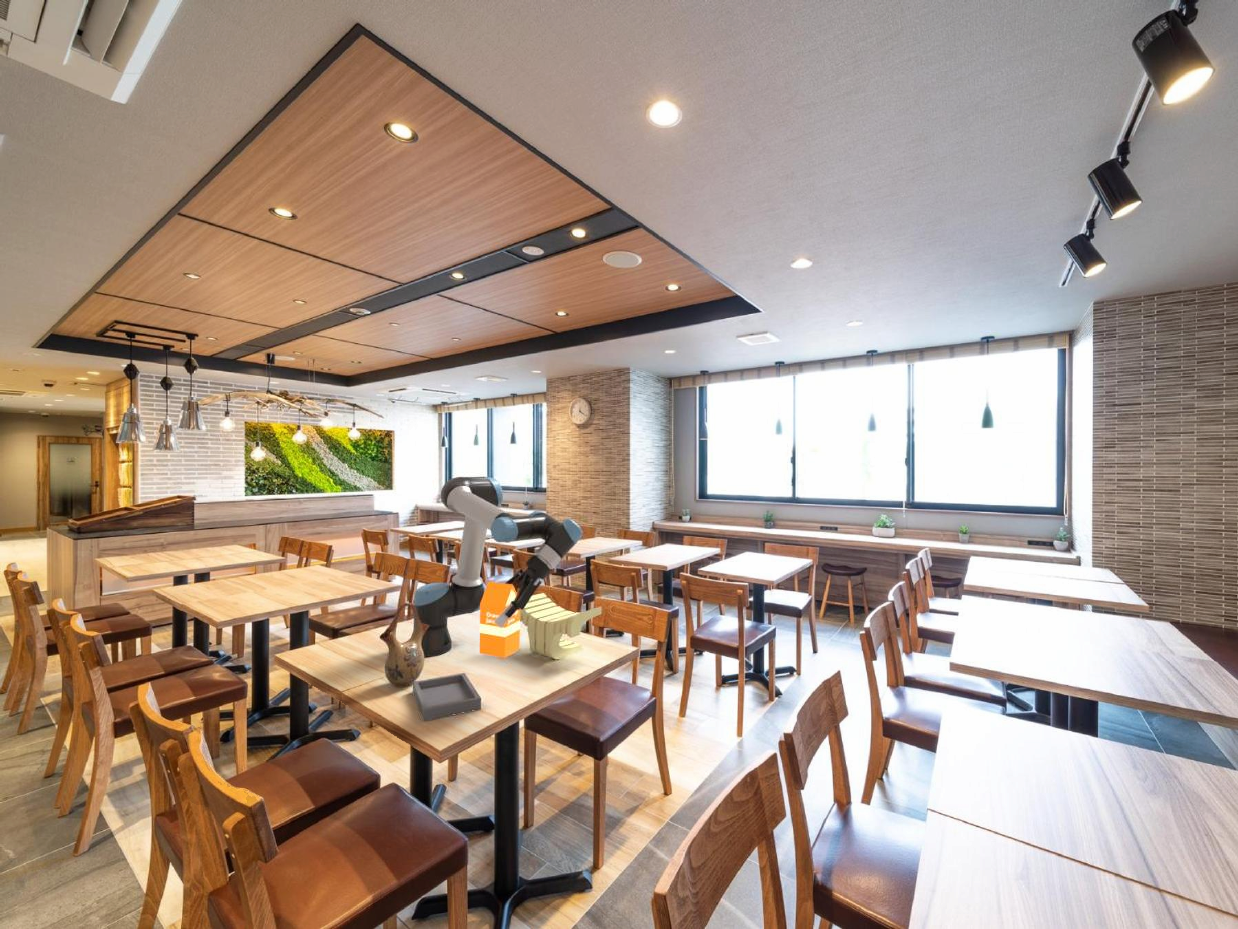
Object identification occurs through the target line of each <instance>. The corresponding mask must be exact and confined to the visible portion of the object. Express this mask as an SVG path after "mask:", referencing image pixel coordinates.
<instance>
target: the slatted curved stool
mask: <svg viewBox="0 0 1238 929" xmlns="http://www.w3.org/2000/svg"><path fill="white" fill-rule="evenodd" d="M602 609H603V608H602V605H601V606H598V607H594V608H591V609H588V610H584V611H583V612H575V611H570V610H566V609H565V608H563V607H561V606H560V605H557V604H556V603H555V602H553V601H552V600H551V599H550V598H549V597H547V595H546V594H545V593H544V592H542V593H538V594H533V595H532V597H531V598H530V600H529V601H528V603H527V604H526V606H525V608H524V609H523V610H521V609H520V623H521V622H522V624H523V625H524V626H525V627H527V628H526V630H527V635H528V642H529V650H530V651H531V652H532V653H536V654H539V655H541V656H545V657H548V658H551V659H554V660H557V659H560V660H562V659H561V658H563V657H565V658H567V656H568V655H570V656H572V655H575V654H578V653H580V652H582V651H581V650H583V646H582V644H581V643H577V642H574V641H571V640H567V639H563V638H562V637H563V635H567V637H569V638H576V637H578V636H580V635H581V631H582V628H583V626H584V625H585V623H587V622H588V621H589V620H591V619H593V618H595V617H597V616H599V615H602V614H603V613H602V612H603V611H602ZM579 651H580V652H579ZM583 651H584V650H583ZM574 653H575V654H574ZM568 657H569V656H568ZM563 659H564V658H563ZM557 661H558V660H557Z"/></svg>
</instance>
